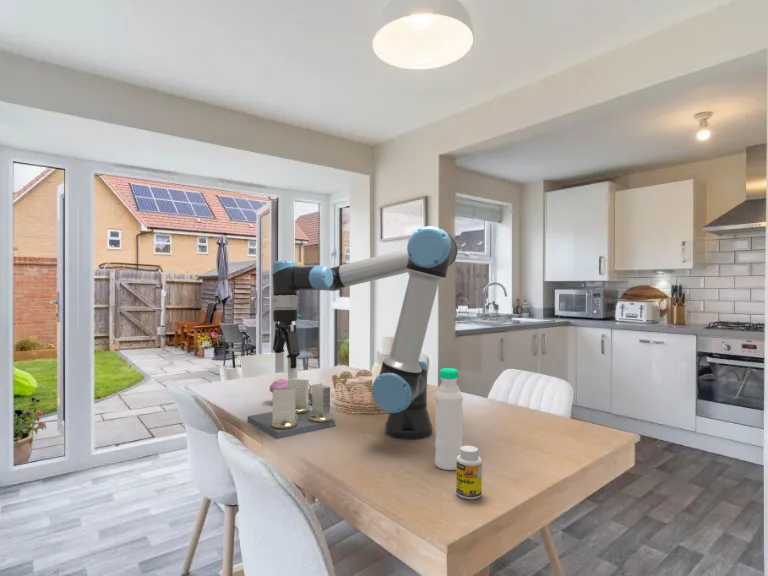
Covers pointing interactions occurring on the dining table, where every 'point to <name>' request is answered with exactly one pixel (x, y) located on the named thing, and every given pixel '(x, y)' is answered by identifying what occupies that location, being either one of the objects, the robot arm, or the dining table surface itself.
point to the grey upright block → (320, 404)
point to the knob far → (300, 394)
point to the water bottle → (448, 420)
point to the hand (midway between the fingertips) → (285, 375)
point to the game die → (310, 394)
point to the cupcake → (279, 385)
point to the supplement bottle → (468, 473)
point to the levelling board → (303, 426)
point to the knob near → (284, 409)
